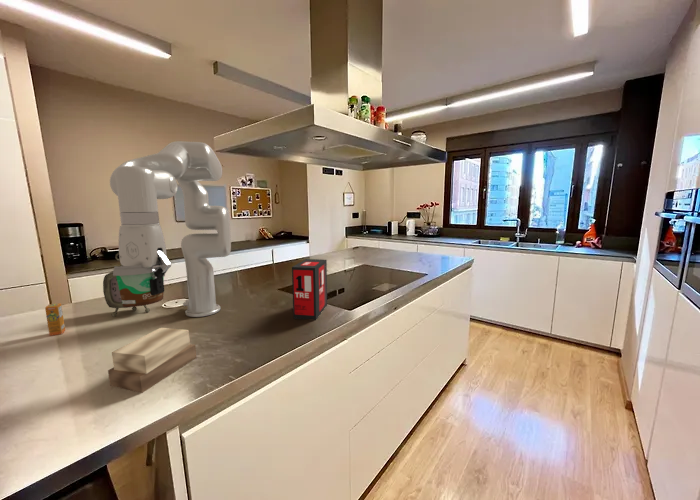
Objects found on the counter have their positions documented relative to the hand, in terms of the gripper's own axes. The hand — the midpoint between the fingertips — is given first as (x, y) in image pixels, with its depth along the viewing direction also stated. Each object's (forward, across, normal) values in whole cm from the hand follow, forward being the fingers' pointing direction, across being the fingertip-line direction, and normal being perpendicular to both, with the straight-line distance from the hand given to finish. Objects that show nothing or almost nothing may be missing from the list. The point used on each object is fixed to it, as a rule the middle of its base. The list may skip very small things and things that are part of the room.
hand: (148, 291), depth 72 cm
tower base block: (+22, 0, 0) cm, 22 cm away
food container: (+3, +1, 0) cm, 3 cm away
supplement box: (+21, -52, +8) cm, 57 cm away
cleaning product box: (+21, +22, +50) cm, 59 cm away
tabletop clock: (+21, -47, +30) cm, 60 cm away
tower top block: (+17, 0, 0) cm, 17 cm away
